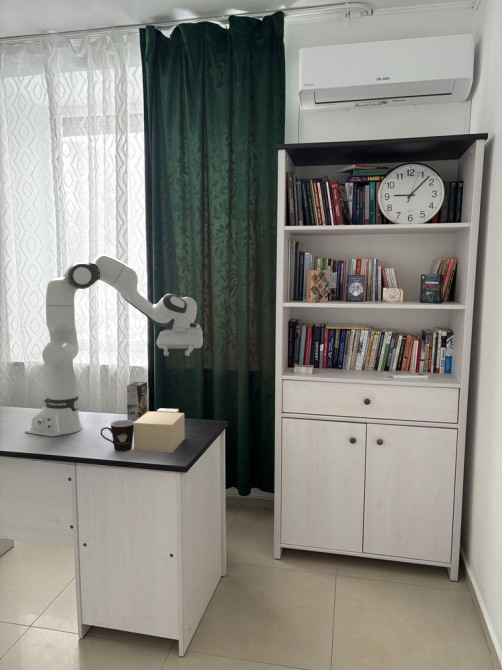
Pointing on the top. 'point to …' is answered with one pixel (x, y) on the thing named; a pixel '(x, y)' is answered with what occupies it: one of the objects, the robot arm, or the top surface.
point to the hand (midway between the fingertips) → (176, 355)
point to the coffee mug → (121, 435)
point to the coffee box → (136, 400)
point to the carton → (159, 437)
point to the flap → (160, 417)
